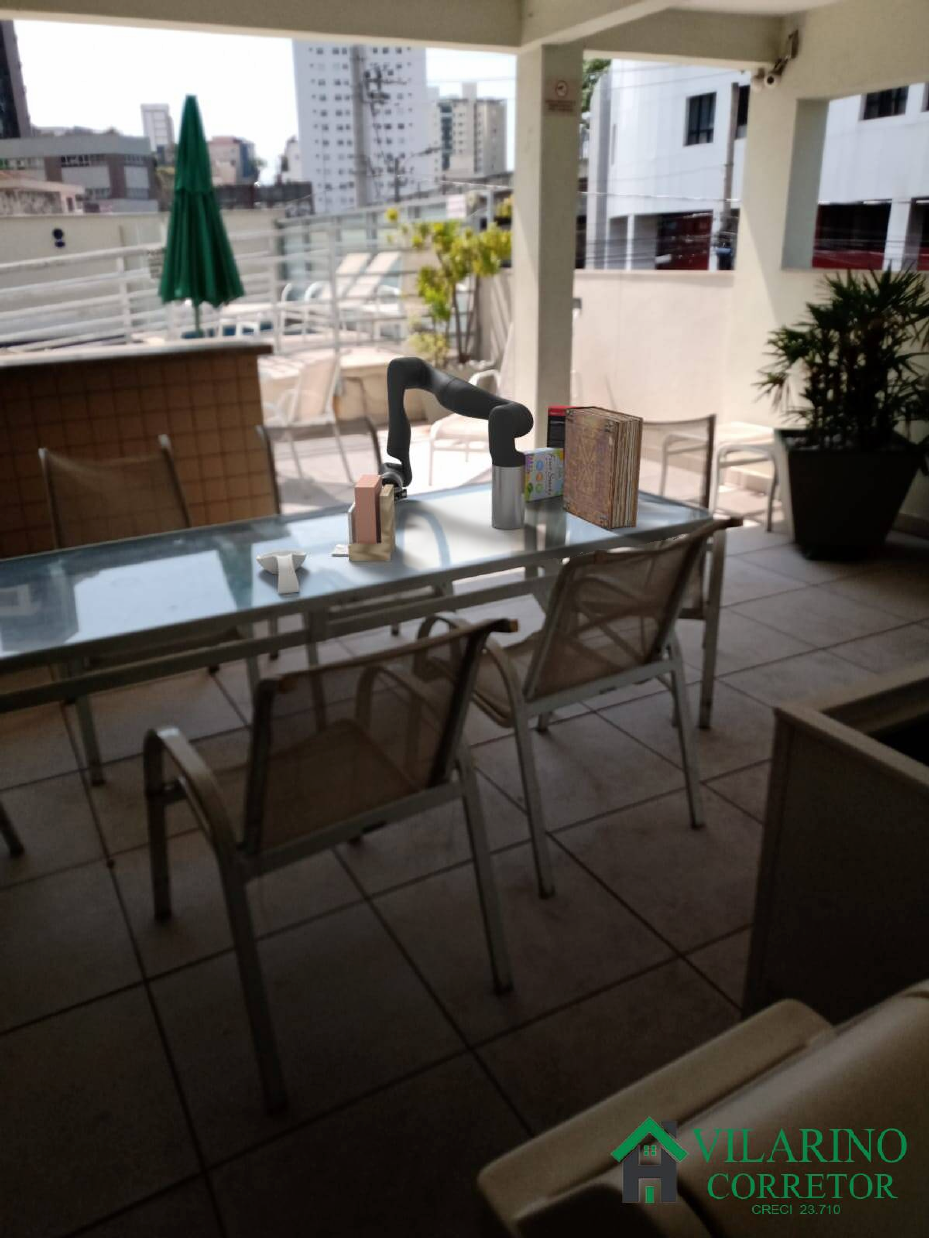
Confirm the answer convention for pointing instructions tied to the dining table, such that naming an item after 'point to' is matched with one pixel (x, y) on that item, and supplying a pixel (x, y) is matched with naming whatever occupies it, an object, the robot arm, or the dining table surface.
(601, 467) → the book
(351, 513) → the bookend
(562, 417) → the graphics card box
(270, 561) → the spoon rest
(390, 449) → the robot arm
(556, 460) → the snack box
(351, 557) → the board
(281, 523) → the dining table surface
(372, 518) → the book
